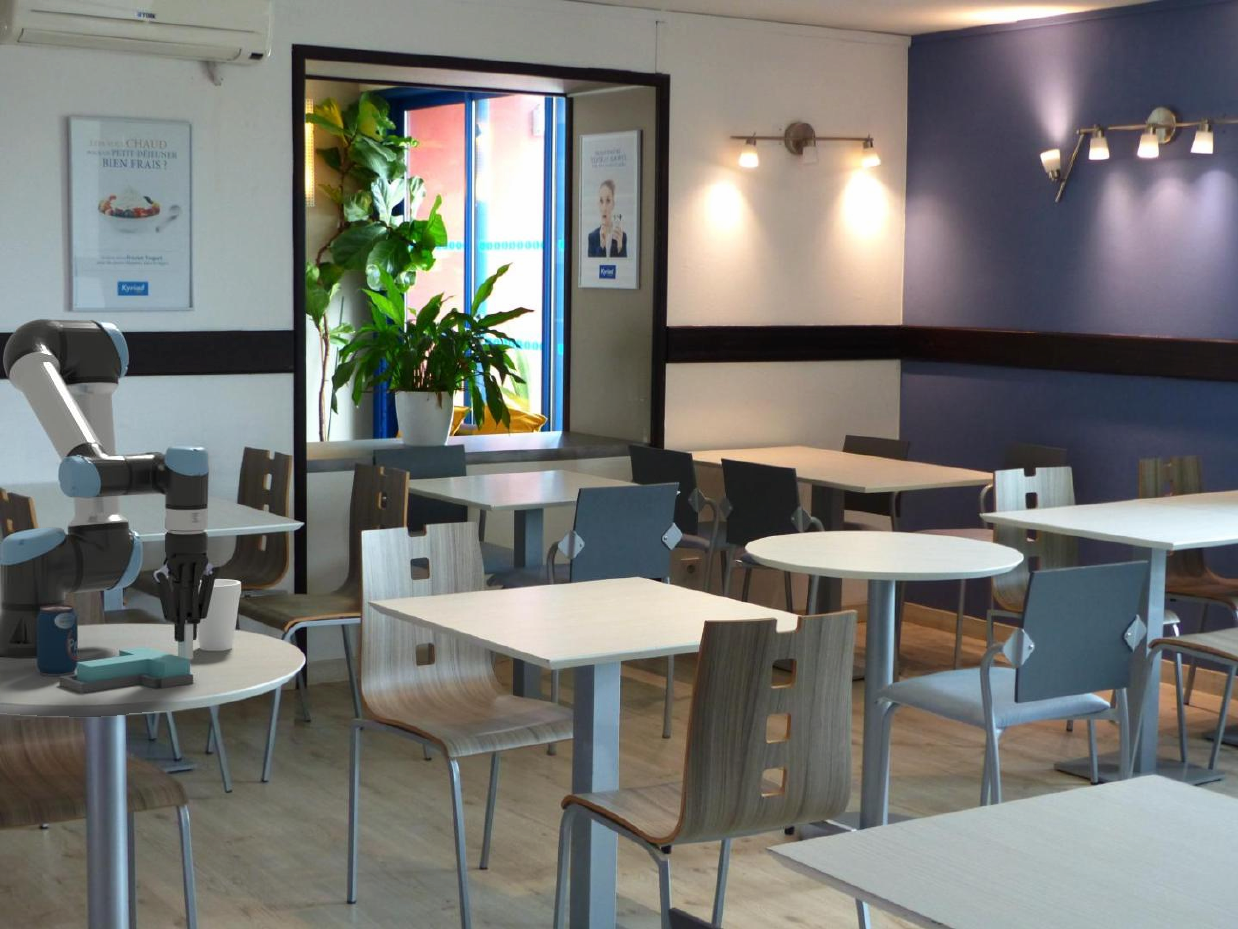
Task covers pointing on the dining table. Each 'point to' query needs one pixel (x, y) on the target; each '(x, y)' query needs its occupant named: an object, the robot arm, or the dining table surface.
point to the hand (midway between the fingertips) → (185, 658)
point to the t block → (134, 665)
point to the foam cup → (220, 616)
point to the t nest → (123, 682)
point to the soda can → (57, 640)
